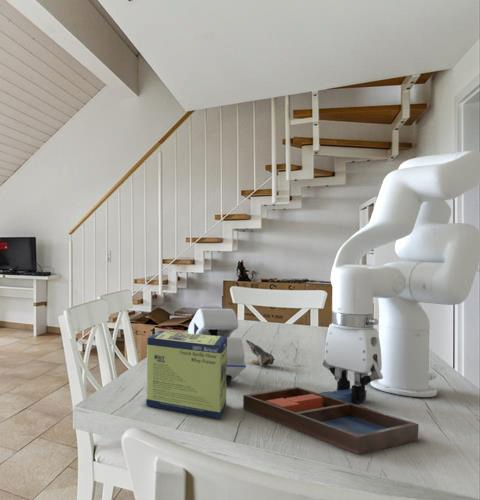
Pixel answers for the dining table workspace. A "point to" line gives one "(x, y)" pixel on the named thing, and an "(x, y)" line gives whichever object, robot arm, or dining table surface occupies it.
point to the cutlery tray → (336, 421)
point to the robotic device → (221, 325)
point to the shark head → (260, 355)
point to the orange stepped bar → (299, 402)
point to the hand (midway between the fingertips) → (350, 399)
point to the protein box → (187, 373)
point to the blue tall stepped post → (342, 395)
